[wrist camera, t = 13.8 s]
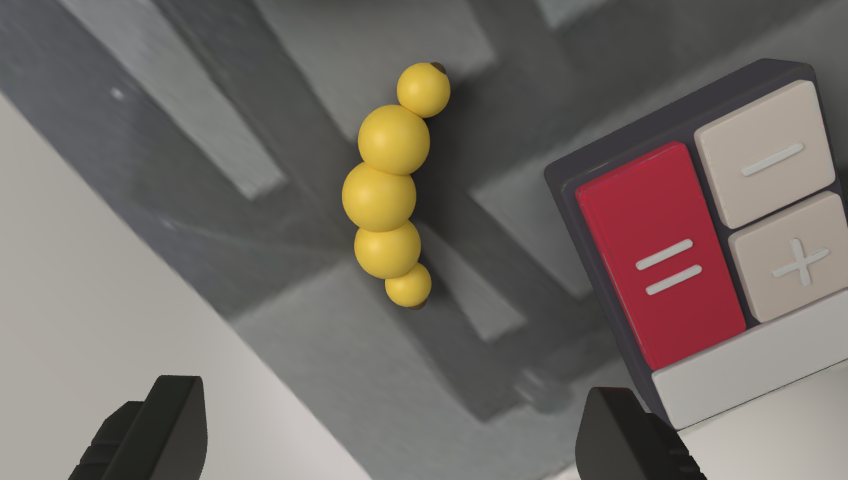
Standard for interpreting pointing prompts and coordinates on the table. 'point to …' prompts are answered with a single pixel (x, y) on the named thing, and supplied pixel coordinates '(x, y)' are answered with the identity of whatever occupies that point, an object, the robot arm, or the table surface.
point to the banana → (395, 184)
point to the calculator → (716, 240)
